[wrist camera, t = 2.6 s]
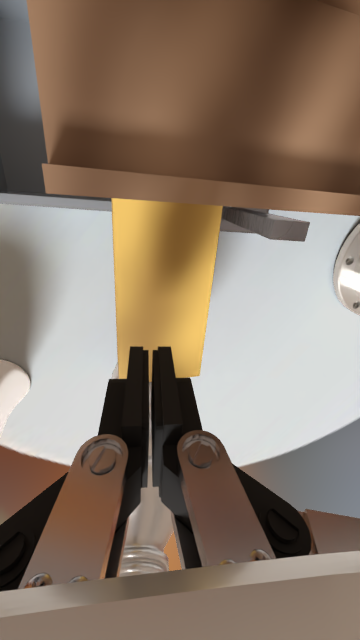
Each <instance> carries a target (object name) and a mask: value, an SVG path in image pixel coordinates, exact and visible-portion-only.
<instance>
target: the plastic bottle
mask: <svg viewBox="0 0 360 640" xmlns="http://www.w3.org/2000/svg"><path fill="white" fill-rule="evenodd" d="M112 379H119V376H118V363H117V364H116V367H115V369H114V371H113V373H112ZM151 383H152V382H149V454H148V485H147V488H141V503H140V504H139V505H138V507H137V508H136V509H135V510H134V511H133V512H132V513H131V514H130V516H129V525H128V530H127V536H126V541H125V546H124V552H123V557H122V563H121V568H120V574H119V577H124V576H132V575H141V574H149V573H158V572H166V571H169V568H168V557H167V556H166V554H164V553H163V550H164V547H165V545H166V543H167V542H168V540H169V538H170V536H171V534H172V533H173V531H174V529H173V524H172V519H171V511H170V510H169V509H168V508H167V507H166V506H165V505H164V504H163V503H162V502H161V497H159V487H153V486H152V437H151Z"/></svg>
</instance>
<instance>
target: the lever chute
mask: <svg viewBox="0 0 360 640" xmlns="http://www.w3.org/2000/svg"><path fill="white" fill-rule="evenodd" d="M27 8H28V16H29V23H30V31H31V38H32V46H33V53H34V61H35V69H36V76H37V84H38V91H39V99H40V106H41V114H42V122H43V129H44V137H45V144H46V152H47V159H48V164H43V163H42V169H43V177H44V184H45V191H46V193H48V194H62V195H76V196H90V197H104V198H111V200H112V225H113V250H114V275H115V301H116V326H117V351H118V376H119V379H127V370H128V361H129V351H130V346H143V350H149V382H152V353H153V350H158V346H171V350H172V356H173V363H174V369H175V376H176V378H186V377H194V376H199V375H200V368H201V361H202V353H203V346H204V339H205V332H206V324H207V317H208V310H209V302H210V295H211V288H212V281H213V273H214V266H215V259H216V251H217V244H218V237H219V230H220V222H221V215H222V208H223V206H229V207H243V208H257V209H271V210H285V211H299V212H313V213H327V214H341V215H355V216H360V0H27Z"/></svg>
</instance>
